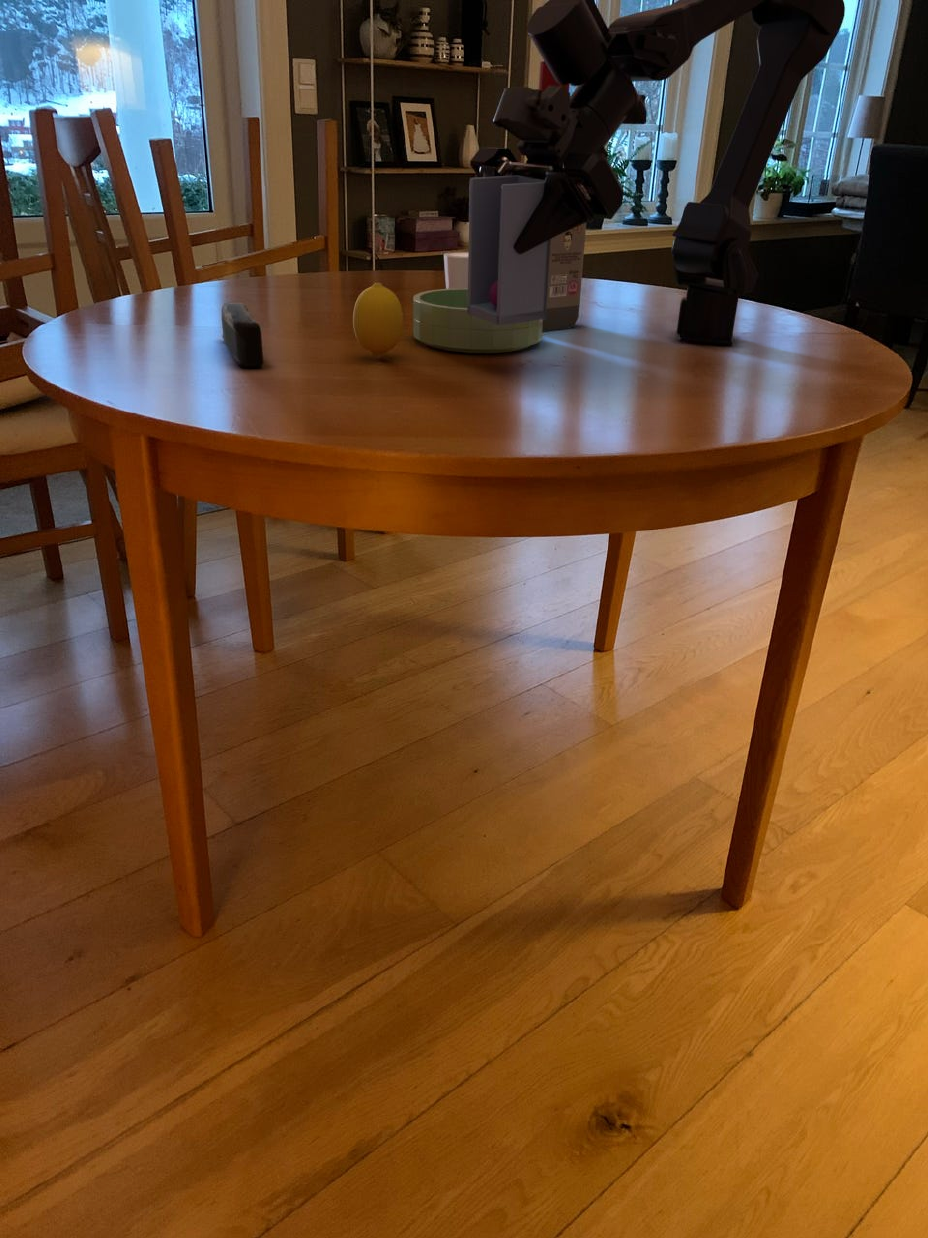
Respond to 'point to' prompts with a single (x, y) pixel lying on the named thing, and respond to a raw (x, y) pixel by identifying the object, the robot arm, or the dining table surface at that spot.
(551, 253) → the liquor
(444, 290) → the bowl
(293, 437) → the dining table surface
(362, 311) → the lemon
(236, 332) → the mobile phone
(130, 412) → the dining table surface
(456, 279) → the white cup
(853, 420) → the dining table surface
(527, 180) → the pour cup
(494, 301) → the ball
